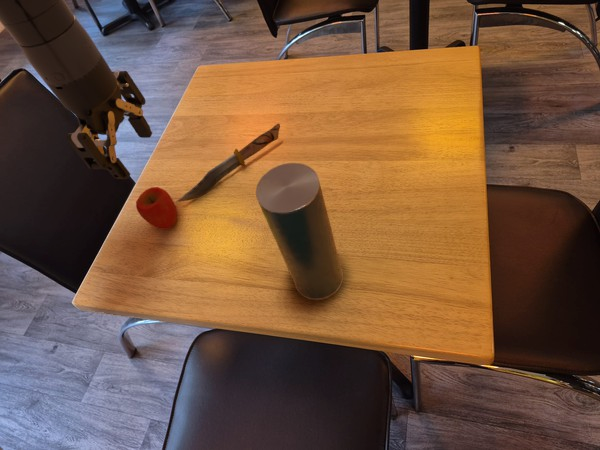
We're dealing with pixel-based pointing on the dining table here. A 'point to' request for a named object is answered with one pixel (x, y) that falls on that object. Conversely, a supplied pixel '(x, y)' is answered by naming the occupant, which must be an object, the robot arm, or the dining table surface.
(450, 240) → the dining table surface
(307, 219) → the tin can
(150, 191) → the apple
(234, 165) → the knife
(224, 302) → the dining table surface
